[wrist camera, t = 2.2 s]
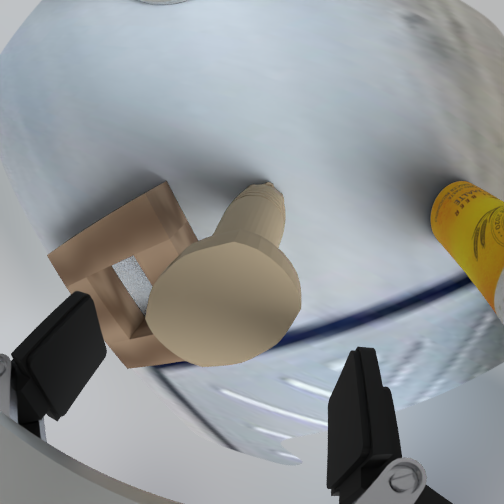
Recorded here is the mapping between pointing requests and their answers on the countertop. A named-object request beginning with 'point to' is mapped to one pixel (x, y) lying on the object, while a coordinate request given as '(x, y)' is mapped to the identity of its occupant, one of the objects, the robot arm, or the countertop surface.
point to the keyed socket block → (115, 250)
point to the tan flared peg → (229, 286)
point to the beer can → (473, 237)
